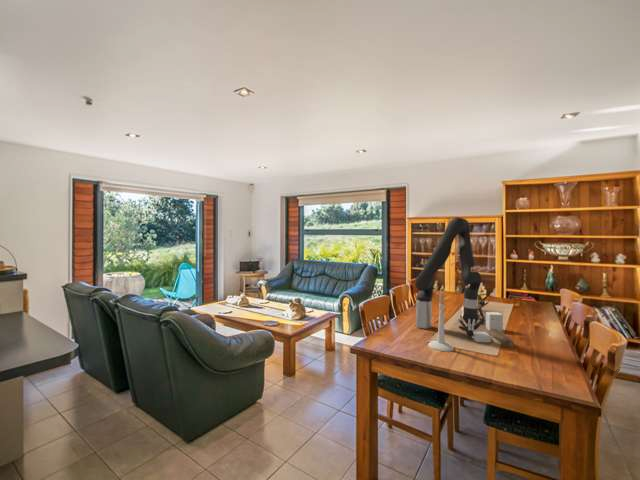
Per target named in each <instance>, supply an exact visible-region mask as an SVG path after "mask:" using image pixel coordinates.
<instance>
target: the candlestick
mask: <svg viewBox="0 0 640 480" xmlns="http://www.w3.org/2000/svg"><path fill="white" fill-rule="evenodd" d="M444 299H445V292H444V291H439V303H438V307H439V311H438V312H439V315H438V327H437V329H438V330H437V340H432V341H430V342H429V343H428V344H427V345H428V348H430V349H431V350H433V351H438V352H448V353H449V352H452V351H453V352H454V350H455V348H454V345H453V344H451V343H449V342H447V341H446V339H445V321H444V320H445V316H444V315H445V313H444V309H445V306H446V304H444V303H445V302H444V301H445V300H444Z"/></svg>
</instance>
